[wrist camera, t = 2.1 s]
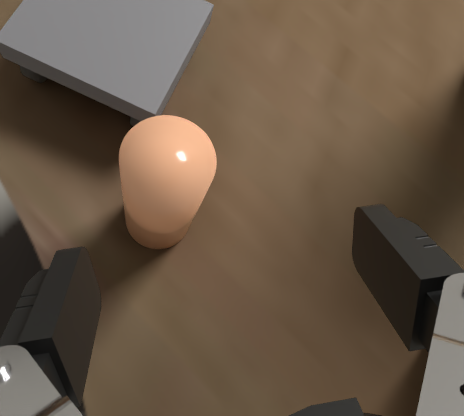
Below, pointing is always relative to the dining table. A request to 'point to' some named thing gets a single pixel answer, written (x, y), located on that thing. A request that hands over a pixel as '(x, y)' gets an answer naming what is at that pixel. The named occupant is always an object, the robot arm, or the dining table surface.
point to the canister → (164, 178)
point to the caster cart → (108, 47)
